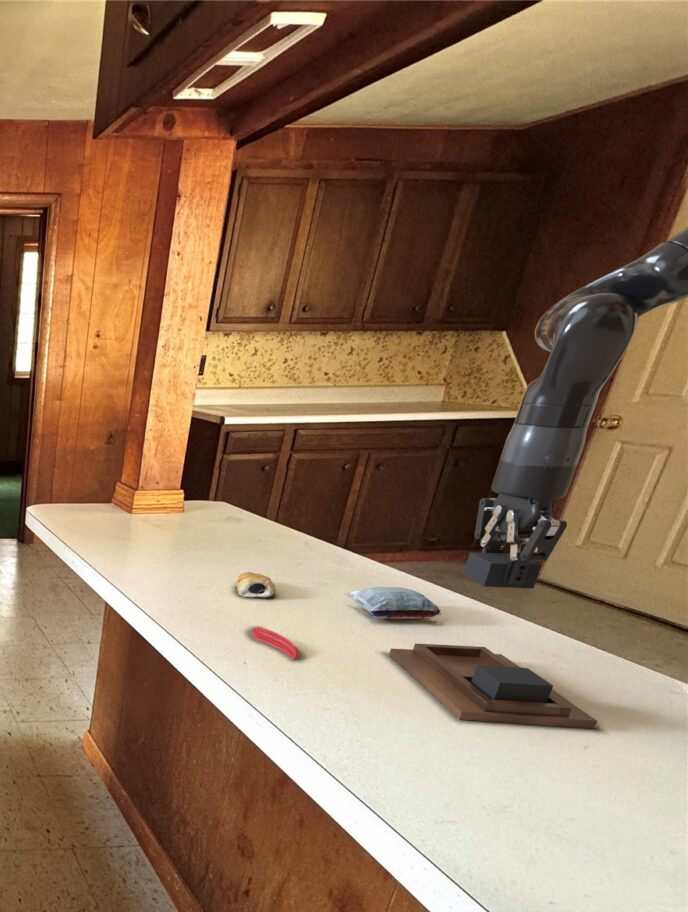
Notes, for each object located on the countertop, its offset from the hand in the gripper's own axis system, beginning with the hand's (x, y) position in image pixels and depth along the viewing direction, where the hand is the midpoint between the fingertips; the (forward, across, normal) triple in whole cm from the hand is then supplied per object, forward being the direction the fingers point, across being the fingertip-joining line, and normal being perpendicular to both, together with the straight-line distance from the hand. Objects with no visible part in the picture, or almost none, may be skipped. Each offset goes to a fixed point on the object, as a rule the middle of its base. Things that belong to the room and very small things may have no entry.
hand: (497, 578), depth 94 cm
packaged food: (+15, +21, +1) cm, 26 cm away
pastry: (+15, +30, +22) cm, 40 cm away
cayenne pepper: (+15, +6, +25) cm, 30 cm away
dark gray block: (0, 0, 0) cm, 0 cm away
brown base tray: (+15, -6, +1) cm, 16 cm away
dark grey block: (+13, -11, +1) cm, 17 cm away
